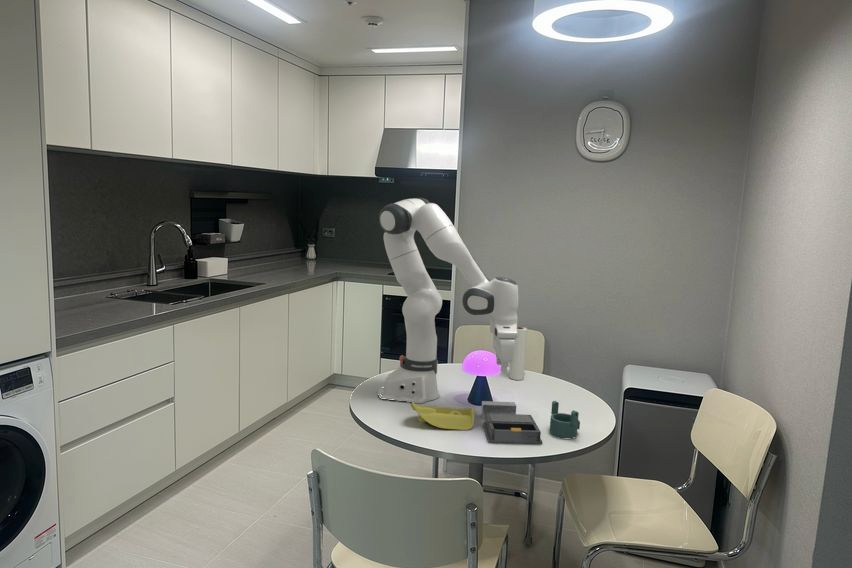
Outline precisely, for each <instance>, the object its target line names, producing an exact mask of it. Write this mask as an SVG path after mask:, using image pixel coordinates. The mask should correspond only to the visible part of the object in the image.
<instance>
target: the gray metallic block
mask: <svg viewBox="0 0 852 568" xmlns="http://www.w3.org/2000/svg"><path fill="white" fill-rule="evenodd" d="M486 413H488V414H517V404H516V402H514V401H490V400H489V401H488V400H481V410H480V416H481V419H482V420H485V415H486Z"/></svg>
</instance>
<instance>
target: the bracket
mask: <svg viewBox="0 0 852 568" xmlns="http://www.w3.org/2000/svg"><path fill="white" fill-rule="evenodd" d="M559 404H560V403H559V402H558V401H557V400H553V401H552V402H551V411H550V412H551V414H550V421H549V423H550V425H549V434H550V435H551V436H553V437H555V438H558V437H559V439H563V438H571V439H574V438H573V437H575V438H576V437H577V436H578V430H580V425H581V421H580V420H579V415H580V413H579V412H578V411H576V410H574V409H573V410H571V412H570V414H569V413H564V412H562V413H561V412H559V407H560V406H559Z"/></svg>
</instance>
